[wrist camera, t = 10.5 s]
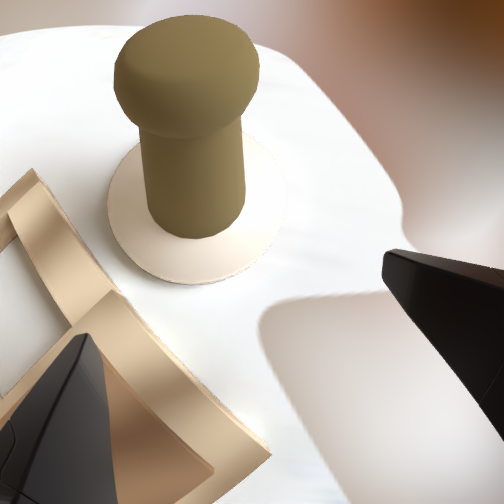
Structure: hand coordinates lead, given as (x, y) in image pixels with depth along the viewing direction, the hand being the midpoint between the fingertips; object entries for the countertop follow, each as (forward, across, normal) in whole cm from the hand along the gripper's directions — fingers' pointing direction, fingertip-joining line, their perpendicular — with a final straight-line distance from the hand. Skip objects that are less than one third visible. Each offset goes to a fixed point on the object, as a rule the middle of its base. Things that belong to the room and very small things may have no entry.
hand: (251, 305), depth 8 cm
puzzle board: (+7, +12, +7) cm, 15 cm away
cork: (+12, 0, 0) cm, 12 cm away
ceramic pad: (+12, 0, 0) cm, 12 cm away
